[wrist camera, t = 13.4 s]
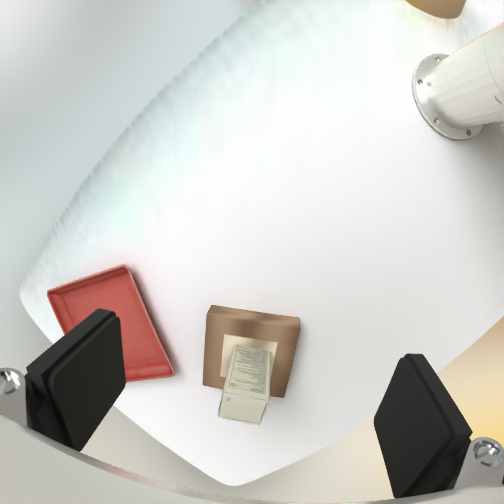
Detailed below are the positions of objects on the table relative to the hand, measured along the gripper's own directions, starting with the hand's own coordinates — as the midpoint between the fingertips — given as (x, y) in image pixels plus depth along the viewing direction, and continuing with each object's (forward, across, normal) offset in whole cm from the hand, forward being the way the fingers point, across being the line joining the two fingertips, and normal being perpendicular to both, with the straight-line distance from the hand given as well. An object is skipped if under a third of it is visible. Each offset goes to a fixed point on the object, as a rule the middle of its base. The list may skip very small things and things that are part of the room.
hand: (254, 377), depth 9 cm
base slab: (+30, +1, +18) cm, 35 cm away
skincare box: (+27, +1, +18) cm, 33 cm away
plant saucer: (+31, +23, +19) cm, 43 cm away
